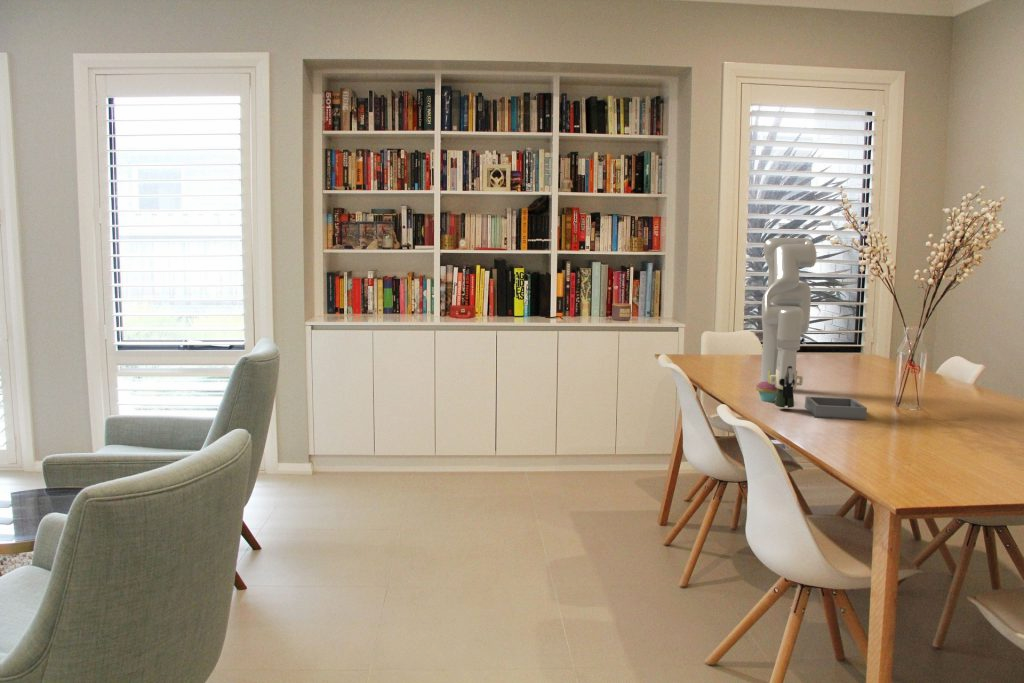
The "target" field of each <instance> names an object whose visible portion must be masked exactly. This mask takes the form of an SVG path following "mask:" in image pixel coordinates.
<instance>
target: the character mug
mask: <svg viewBox="0 0 1024 683" xmlns="http://www.w3.org/2000/svg"><path fill="white" fill-rule="evenodd" d="M786 377H788V372H787V373H786ZM793 377H794V375H793ZM773 378H775V382H773ZM803 378H804V376H802V375H798V370H796V374H795V378H794V379H793V391H794V390H796V388H797V386H802V385H803V382H804V381H803ZM798 380H799V382H798ZM786 381H787V380H786ZM770 384H775V387H776V388H778V389H779V390H778V392H777V396H776V399H775V401H774V402H775V403H774V405H775V406H776V407H779V408H785V407H787V408H788V409H790V408H794V407H795V400H794V395H793V396H792V398H783V397H782V395H783V386H784V377H783V378H780V377H779V371H778V370H777V369H776V375H770Z"/></svg>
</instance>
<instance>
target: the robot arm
mask: <svg viewBox="0 0 1024 683" xmlns="http://www.w3.org/2000/svg"><path fill="white" fill-rule="evenodd" d="M763 254H764V258H765V261H766V264H767V268H768V278H767V288H766V290H765V292H764V294H763V295H762V299H761V326H762V350H761V352H762V354H761V371H760V372H761V373H760V383H761V382H764V381H768V376H769V371H771V375H776V369H777V370H778V371H779V377H780V378H783V377H784V386H783V395H782V397H783V398H792V396H793V397H794V390H793V379H794V378H795V374H796V371H797V355H798V354H797V352H798V351H800V349H801V335H804V334H807V332H808V331H809V328H810V317H811V304H812V303H811V302H812V301H811V300H812V291H811V287H810V285H809V284H808V283H806V282H803V281H802V282H801V281H800V268H813V267H814V266H815V265H816V263H817V257H818V256H817V255H818V254H817V248H816V246H815V244H814V242H813V240H811V238H807V237H804V238H803V237H772V238H768V239H765V241H764V244H763ZM787 372H788V377H786V373H787ZM793 375H794V377H793ZM786 380H787V381H786ZM773 382H775V378H773ZM758 384H759V383H758ZM758 384H756V386H757V385H758ZM778 390H779V389H778Z"/></svg>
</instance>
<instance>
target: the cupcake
mask: <svg viewBox="0 0 1024 683" xmlns="http://www.w3.org/2000/svg"><path fill="white" fill-rule="evenodd" d="M770 375H771V371H769V376H768V381H764V382H761V381H760V383H758V385H757V384H756V385H757V386H756V387H755V390H756V391H758V394H759V396H760V400H761V401H763V402H766V403H767V402H768V403H771V402H772V403H773V402H776V396H777V392H778V388H776V387H775V384H770Z"/></svg>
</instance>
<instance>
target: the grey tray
mask: <svg viewBox="0 0 1024 683" xmlns="http://www.w3.org/2000/svg"><path fill="white" fill-rule="evenodd" d="M804 408H805V409H806V410H807V411H808V412H809V413H810V414H811V415H812V416H813V417H814V418H818V419H819V418H820V419H837V420H838V419H839V420H840V419H841V420H858V421H859V420H860V421H861V420H862V421H866V420H867V410H868V408H867V407H866V406H865V405H864V404H862V403H861V402H859V401H858V400H856V399H855V398H851V397H849V398H848V397H832V396H831V397H829V396H828V397H825V396H810V395H809V396H805V398H804Z"/></svg>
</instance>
